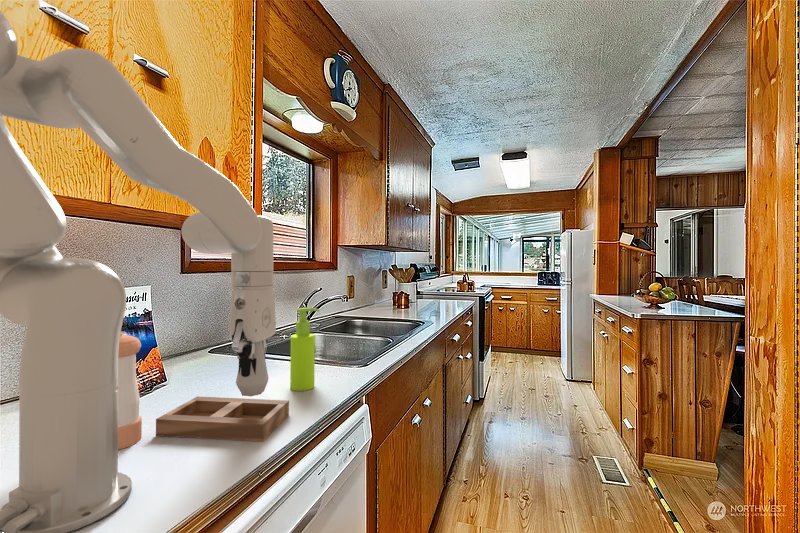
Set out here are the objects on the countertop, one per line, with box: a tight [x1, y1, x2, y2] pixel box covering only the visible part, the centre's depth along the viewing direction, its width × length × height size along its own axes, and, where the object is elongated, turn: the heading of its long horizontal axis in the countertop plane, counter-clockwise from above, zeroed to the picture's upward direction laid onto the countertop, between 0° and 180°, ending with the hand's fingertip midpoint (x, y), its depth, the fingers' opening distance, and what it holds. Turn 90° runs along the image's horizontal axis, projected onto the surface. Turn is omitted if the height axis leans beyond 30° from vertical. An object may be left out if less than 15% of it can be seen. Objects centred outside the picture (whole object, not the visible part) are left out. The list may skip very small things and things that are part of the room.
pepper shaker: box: [118, 331, 143, 451], centre depth 67 cm, size 7×7×19 cm
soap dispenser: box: [289, 307, 320, 392], centre depth 98 cm, size 6×7×20 cm
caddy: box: [155, 396, 290, 443], centre depth 74 cm, size 12×20×3 cm, turn 85°
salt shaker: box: [235, 338, 269, 397], centre depth 74 cm, size 6×6×13 cm
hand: (252, 375), depth 74 cm, fingers closed on salt shaker, 3 cm apart
